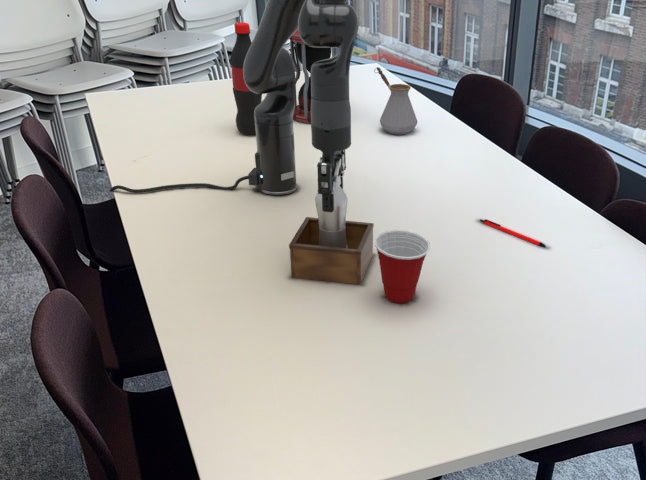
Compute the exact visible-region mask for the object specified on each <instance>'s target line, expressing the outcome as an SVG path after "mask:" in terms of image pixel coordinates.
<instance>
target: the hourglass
mask: <svg viewBox="0 0 646 480" xmlns="http://www.w3.org/2000/svg"><path fill="white" fill-rule="evenodd" d="M289 44H290V46H289V47H290V55H291V57H292V60H293V63H294V68H295V109H294V112H293V121H296V122H300V123H304V124H311V74H310V72H311V66H312V65H313V64H314V63H315V62H317V61H320V60H325V59H329V58H332V48H325V47H309V46H307V45H306V44H304V42H303V41H302V40H301V38H300V36H299V33H298V30H297V31H296V32H295V33H294V34H293V35H292V36H291V37H290V38H289ZM295 53H296V57H297V60H298V61H299V63H300V64H301V68H302V73H303V74H304V75H303V76H304V82H303V83H302V85H301V86H300V88H299V90H298V94H297V82H298V81H299V79H300V77H301V74H302V73H301V69H300V66H299V65H298V63H297V61H296V58H295ZM337 53H338V48H333V57H334V56H336V55H337ZM297 96H298V97H297ZM297 100H298V101H297ZM297 102H298V103H297Z"/></svg>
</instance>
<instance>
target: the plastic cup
mask: <svg viewBox="0 0 646 480" xmlns="http://www.w3.org/2000/svg"><path fill="white" fill-rule="evenodd" d="M374 247H375V248H376V252H377V256H378V258H377V259H378V261H379V267H380V276H381V282H382V287H383V293H384V296H385V299H386V300H387V301H389V302H391V303H395V304H406V303H409V302H411V301H412V300H413V299H414V297H415V294H416V290H417V286H418V283H419V279H420V275H421V272H422V268H423V264H424V261H425V258H426V257H427V255H428V253H429V252H430V250H431V242H429V240H427V238H426V237H424V236H423V235H421V234H420V233H417V232H413V231H409V230H401V229H400V230H399V229H393V230H386V231H383V232H381V233H379V234H377V236H376V237H375V238H374Z"/></svg>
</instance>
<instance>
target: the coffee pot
mask: <svg viewBox="0 0 646 480" xmlns="http://www.w3.org/2000/svg"><path fill="white" fill-rule="evenodd" d="M376 70H377V72H376ZM373 72H374V73H375V74H378V75H380V77H381V80H382V81H383V82H384V83H385V85H386V86H387V88H388V89H389V92H390V95H389V97H388V100H387V102H386V105H385V106H384V109H383V111H382V114H381V116H380V119H379V124H380V126H381V128H383V129H384V130H385V132H386V133H388V134H391V135H396V136H397V135H398V136H400V135H401V136H402V135H408V134H410V133H411V132H412V131H414V130H415V128H416V126H417V124H418V119H417V116H416V113H415V110H414V107H413V105H412V102H411V99H410V95H409V92H410V90H411V89H412V87H411V85H408V84H403V83H394V84H390V82H389V80H388V79H387V76H386V75H385V74H384V73H383V70H382V69H381V68H380V67H379V66H377V67H376V68H375V69H374V70H373Z"/></svg>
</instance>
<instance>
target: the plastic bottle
mask: <svg viewBox="0 0 646 480" xmlns="http://www.w3.org/2000/svg"><path fill="white" fill-rule="evenodd" d="M332 177H333V176H332ZM340 184H341V175H340V173H338V181H337V183H335V186H334V210H333V212H324V211H323V210H322V194H318V192H317V193H316V195H315V198H314V202H315V208H316V209H315V210H316V214H317V218H318V221H319V245H318V246H327V247H338V248H348V246H347V242H346V232H345V224H346V221H347V210H348V204H349V203H348V202H349V199H348V197H347V194H346V192H345V191H344V188H343V189H342V188H341V187H340ZM324 187H327V188H328V183H327V182H325V186H324Z"/></svg>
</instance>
